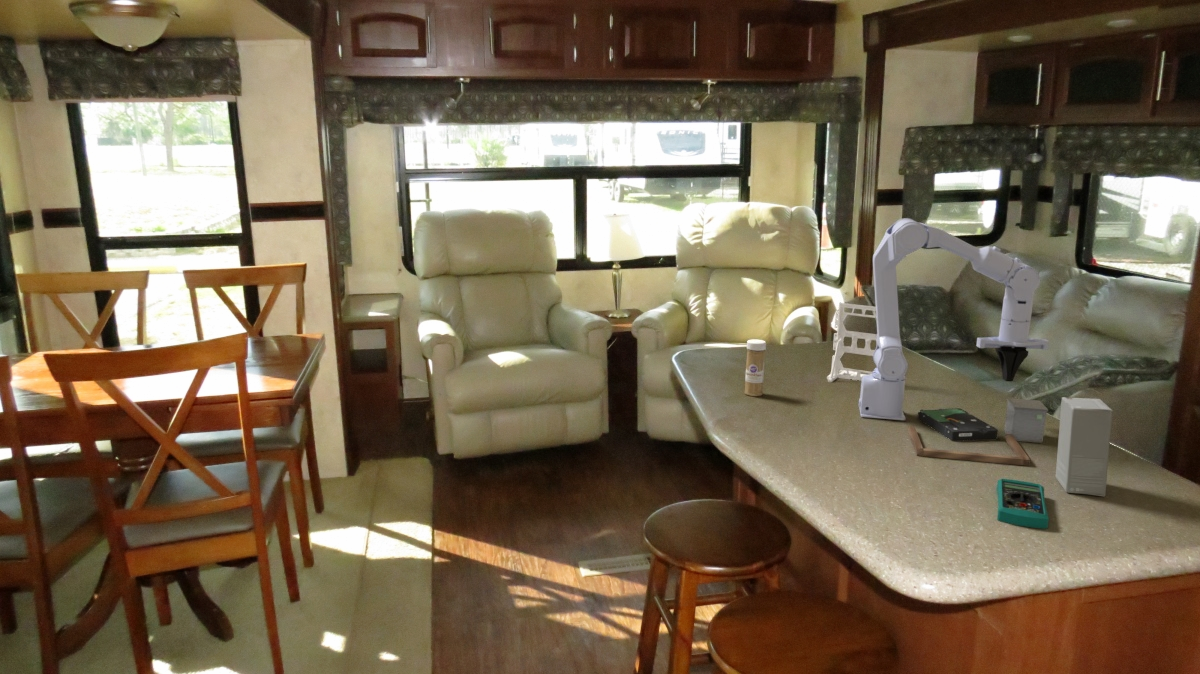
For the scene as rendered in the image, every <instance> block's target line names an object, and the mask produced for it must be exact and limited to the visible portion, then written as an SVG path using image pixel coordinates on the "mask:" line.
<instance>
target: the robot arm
mask: <svg viewBox="0 0 1200 674" xmlns="http://www.w3.org/2000/svg"><path fill="white" fill-rule="evenodd" d="M922 247H925V248H926V249H929V248H930V249H931V248H941V249H943V250H945V251H946V252H947V251H948V252H949V253H952V254H954V255H956V256H958V257H960V258H962V259H966V260H967V261H969V262H970V263H971V267H972V269H973V270H974V271H975V272H977V273H978V274H979V273H980V274H981V275H983V276H985V277H987V278H989V279H992V280H994V281H995V282H998V283H1000V284H1004V285H1005V290H1004V296H1003V301H1002V310H1001V317H1000V324H999V332H998V336H990V337H989V336H988V337H977V338H976V345H975V346H976V347H977V348H979V349H985V348H987V349H989V348H990V349H991V348H992V349H994V350H995V352H996V354H997V357H998V359H999V364H1000V367H1001V373H1002V374H1001V375H1002V380H1004V381H1006V382H1013V381H1014V379H1015V377H1016V373H1017V372H1018V370H1019V368H1020V367H1021V365H1022V363H1023V362H1024V361H1025V360H1026V359H1027V357H1028V356H1029V350H1030V349H1033V350H1043V351H1048V350H1049V346H1050V341H1049V340H1047V339H1045V338H1034V337H1033V338H1032V337H1029V335H1030V326H1031V321H1032V320H1031V319H1032V313H1033V304H1034V295H1035V291H1036V290H1037V289H1038V288H1039V287H1040V284H1041V279H1040V274H1039V273H1038V271H1037V270H1036V269H1035V268H1034V267H1032V266H1030V265H1027V264H1026V263H1024V262H1023V261H1022V260H1021V259H1020V258H1018V257H1015V258H1013V257H1011V256H1009V255H1008V254H1005V253H1003V252H1001V251H1002V250H1001V248H999V247H997V246H994V245H993V247H991V246H989V245H987V246H984V247H980V248H979V247H978V248H977V246H975V245H973V244H970V243H968V242H966V241H964V240H962V239H961V238H959V237H957V236H954V235H952V234H950V233H949V232H947V231H945V230H943V229H941V228H939V227H937V226H933V225H929V224H927V223H923V222H918V221H916V220H914V219H912V218H909V217H906V218H905V217H904V218H899V219H898V220H897V221H895V222H894V223H893V224H892V225H891V226H889V227H888V228H887V229H886V231H885V233H884V236H883V237H882V239H881V241H880V243H879V245H878V246H877V247H876V250H875V251H874V253H873V255H872V270H873V271H872V272H873V286H874V305H875V307H876V311H875V312H876V318H875V319H876V334H877V339H876V340H875V341H876V345H875V346H876V347H875V349H874V350H875V351H874V354H873V356H872V360H873V363H874V364H875V366H876V367H875V368H874V369H873V371H871V372H872V375H869V374H866V375H863V376H862V381H860V393H859V395H860V396H859V399H858V409H859V414H860V417H862V418H871V419H872V418H873V419H884V420H885V419H886V420H896V421H906V416H905V413H904V410H903V406H904V405H903V404H904V395H905V386H906V373H907V371H908V366H909V364H908V361H907V359H906V357H905V355H904V353H903V345H902V340H901V333H900V331H901V330H900V316H899V315H900V314H899V297H898V296H899V295H898V281H897V278H898V277H897V266H898V264H899V263H900V262H902V260H903V259H905V258H906V257H907V256H909V255H910V254H912V253H915V252H916V251H918V250H920V249H922ZM1028 349H1029V350H1028Z"/></svg>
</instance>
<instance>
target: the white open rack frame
mask: <svg viewBox="0 0 1200 674" xmlns="http://www.w3.org/2000/svg"><path fill="white" fill-rule="evenodd" d="M845 308H846V309H852V310H851V312H847V311H845ZM856 309H857V310H861V313H856V312H855V310H856ZM867 311H873V315H870V314H866V312H867ZM854 312H855V313H854ZM848 316H856V317H864V318H873V319H876V306H872V305H871V306H870V305H862V304H854V303H843V302H839V305H838V310H835V318H834V328H835V329H837V330H836V332H835V333H833V342H832V343H833V347H832V350H833V351H835V353H834V354H833V355H832V358H831V371H830V373H829V375H827V376H826V380H827V382H828V383H833V382H834V381H835V380H837V379H838V378H839V379H846V380H850V379H852V380H851V381H857V380H859V381H858V382H861V381H862V376H863V375H872V371H867V370H864V369H863V370H861V369H855V368H848V367H844V365H843V363H842V361H841V358H842V357H843V355H844V354H845V353H847V354H848V353H849V354H856V355H862V356H863V355H864V356H870V357H873V354H874V351H875V349H871V343H872V341H876V339H877V333H876V334H875V333H868V332H859V331H852V330H847V328H846V327H845V324H844V322H845V320H846V318H847V317H848ZM845 337H846V338H851V345H849V346H847V345H845V343H844V340H845ZM858 339H861V340H862V339H863V340H864V341H865V343H864V344H865V345H864V348H862V347H858V344H857V342H858V341H859V340H858Z"/></svg>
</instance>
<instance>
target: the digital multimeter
mask: <svg viewBox="0 0 1200 674" xmlns="http://www.w3.org/2000/svg"><path fill="white" fill-rule="evenodd" d="M996 482H997V483H996V484H997V485H996V495H997V504H998V506H997V516H996V517H997V518H996V520H998V521H999V522H1002V523H1006V524H1010V525H1015V526H1020V527H1025V528H1033V529H1043V530H1047V529H1048V527H1049V521H1050V520H1049V519H1050V517H1049V514H1048V510H1047V506H1046V500H1045V499H1046V498H1045V487H1044V486H1043V485H1041V484H1040V483H1035V482H1030V481H1029V482H1028V481H1023V480H1017V479H1010V478H1009V479H1007V478H1001V479H998V480H997V481H996Z"/></svg>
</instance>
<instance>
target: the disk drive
mask: <svg viewBox="0 0 1200 674" xmlns="http://www.w3.org/2000/svg"><path fill="white" fill-rule="evenodd" d="M917 420H919V421H920V420H921V422H922V423H923V422H924V423H923V424H925V423H926V424H925V425H927V426H928V425H929V426H928V427H930V428H931V427H932V428H931V429H932V430H934V429H935V430H934V431H936V432H937V431H938V432H937V433H939V432H940V433H941V435H942V436H943V435H944V437H945V438H946V437H947V438H946V439H948V438H949V439H950V440H949V439H948V440H949V441H952V442H959V441H960V442H961V441H962V442H963V440H964V441H965V442H966V441H990V440H991V441H995V440H998V435H999V434H998V432H999V430H998V429H997V428H996V427H995V426H992V425H990V424H988V423H987V422H985V421H984V420H982V419H980V418H978V417H976V416H975V415H973V414H972V413H970V412H968V411H966V410H963V409H962V408H956V407H955V408H938V409H920V411H918V412H917ZM940 433H939V434H940Z"/></svg>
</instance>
